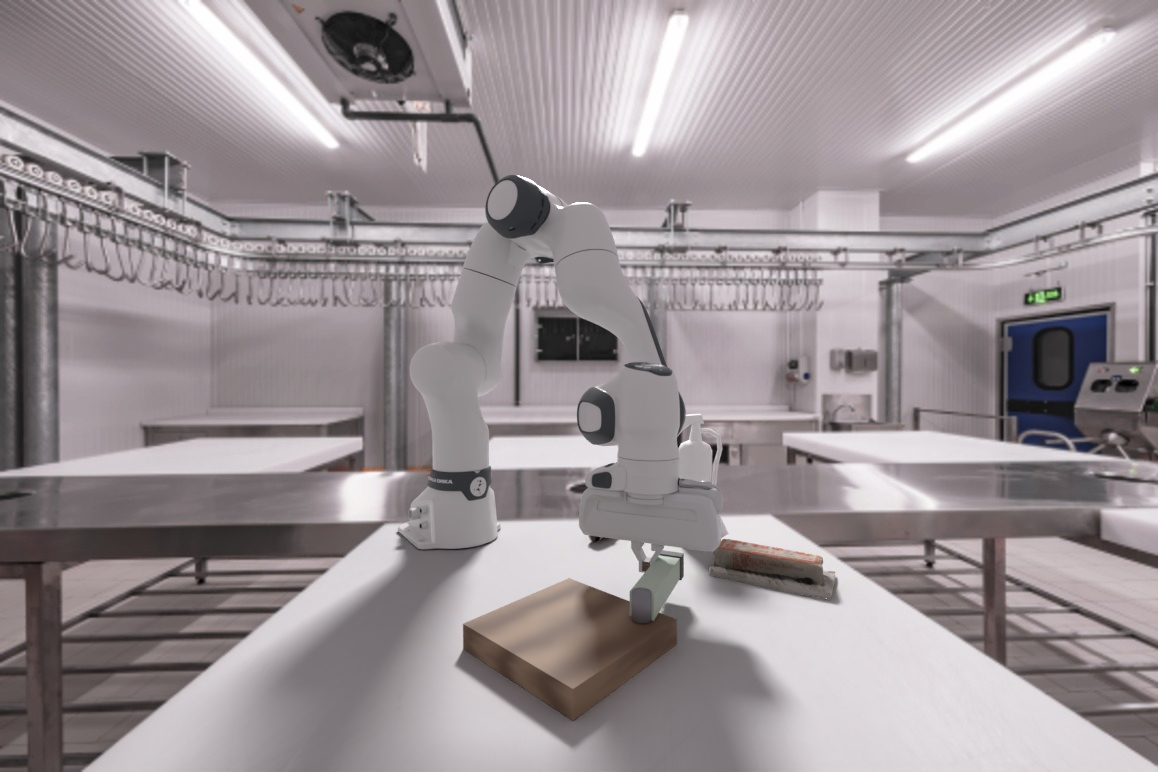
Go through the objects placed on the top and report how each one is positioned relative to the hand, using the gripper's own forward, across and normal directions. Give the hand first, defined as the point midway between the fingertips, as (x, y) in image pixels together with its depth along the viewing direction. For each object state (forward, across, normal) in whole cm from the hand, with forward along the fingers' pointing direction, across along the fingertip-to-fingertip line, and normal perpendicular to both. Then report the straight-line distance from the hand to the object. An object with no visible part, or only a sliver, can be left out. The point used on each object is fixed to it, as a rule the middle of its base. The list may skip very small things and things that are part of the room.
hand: (647, 572), depth 70 cm
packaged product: (+5, -16, -16) cm, 23 cm away
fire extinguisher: (+5, -3, -29) cm, 29 cm away
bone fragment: (+5, +14, -26) cm, 30 cm away
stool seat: (+4, +5, +15) cm, 17 cm away
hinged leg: (+1, -3, +5) cm, 6 cm away
